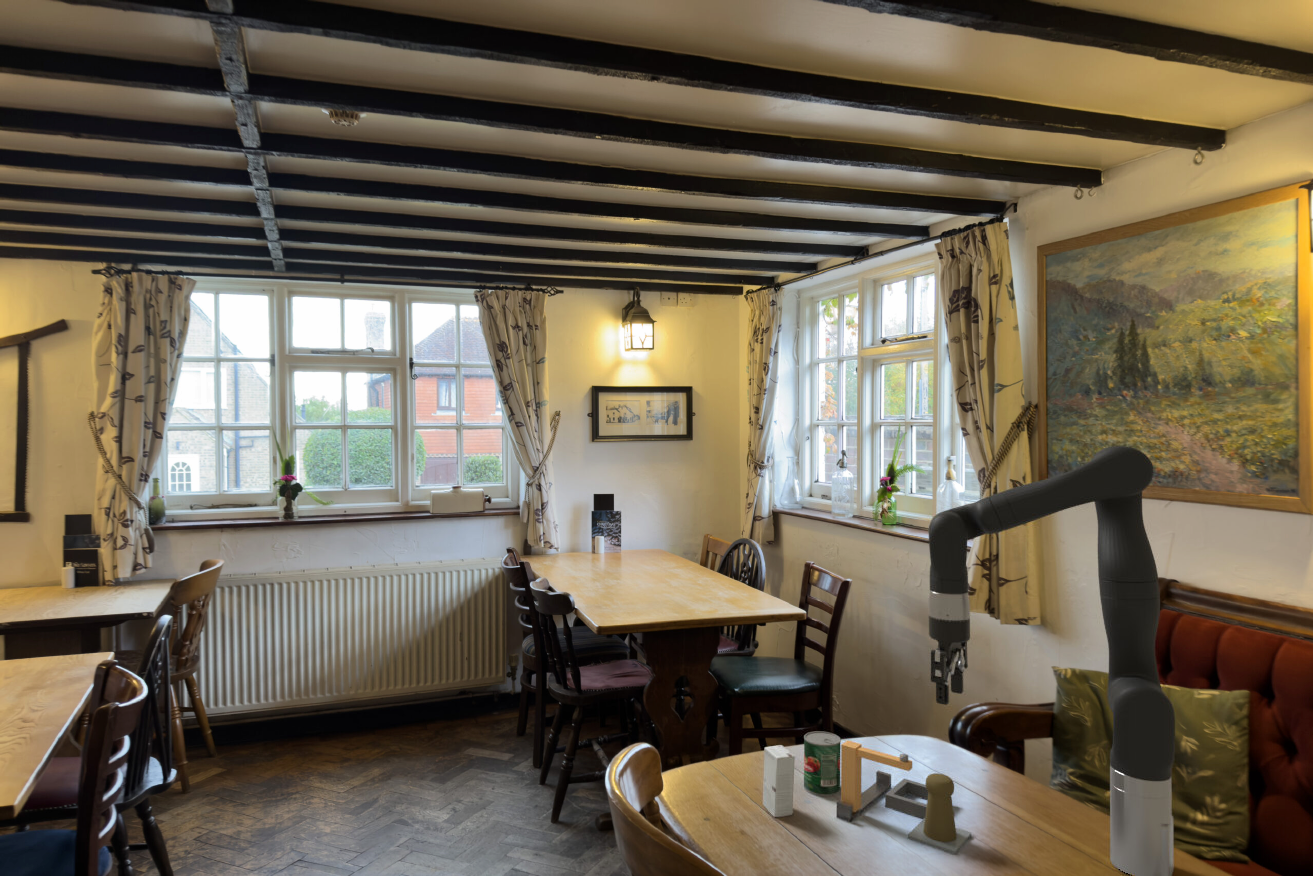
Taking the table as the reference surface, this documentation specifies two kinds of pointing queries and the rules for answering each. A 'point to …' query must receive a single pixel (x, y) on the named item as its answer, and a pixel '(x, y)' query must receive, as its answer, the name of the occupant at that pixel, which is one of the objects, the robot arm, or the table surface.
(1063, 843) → the table surface
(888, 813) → the table surface
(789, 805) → the skincare box
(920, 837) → the coaster
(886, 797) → the socket
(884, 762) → the orange angled bracket
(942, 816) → the cork
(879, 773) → the rail
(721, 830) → the table surface
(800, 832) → the table surface
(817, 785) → the canned tomato
